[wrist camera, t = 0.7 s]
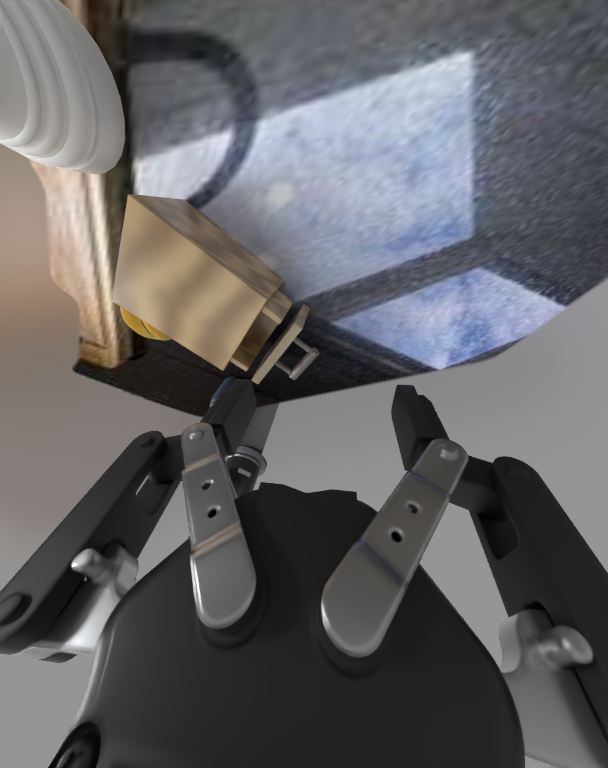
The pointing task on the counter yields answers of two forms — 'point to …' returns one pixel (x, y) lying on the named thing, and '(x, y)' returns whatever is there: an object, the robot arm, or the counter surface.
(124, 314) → the bread roll
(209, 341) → the cabinet
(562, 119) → the counter surface
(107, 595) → the robot arm
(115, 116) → the honey pot
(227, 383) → the vaping device
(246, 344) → the drawer
